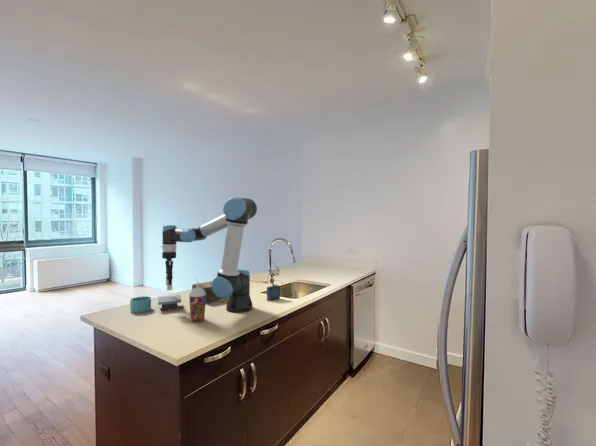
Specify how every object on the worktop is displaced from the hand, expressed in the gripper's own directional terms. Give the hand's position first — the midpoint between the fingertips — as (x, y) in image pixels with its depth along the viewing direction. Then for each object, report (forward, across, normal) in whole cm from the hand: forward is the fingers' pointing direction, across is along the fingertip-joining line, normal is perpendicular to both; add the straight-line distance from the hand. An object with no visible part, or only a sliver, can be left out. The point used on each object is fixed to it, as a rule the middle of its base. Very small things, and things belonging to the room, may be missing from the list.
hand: (168, 287), depth 181 cm
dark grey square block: (+12, 0, 0) cm, 12 cm away
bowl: (+12, -2, -15) cm, 19 cm away
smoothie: (+12, +29, +12) cm, 34 cm away
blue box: (+12, +8, +62) cm, 64 cm away
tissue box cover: (+12, -12, +29) cm, 34 cm away
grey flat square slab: (+8, 0, 0) cm, 8 cm away
